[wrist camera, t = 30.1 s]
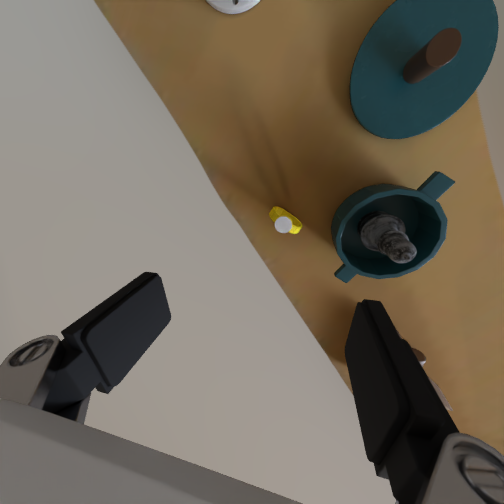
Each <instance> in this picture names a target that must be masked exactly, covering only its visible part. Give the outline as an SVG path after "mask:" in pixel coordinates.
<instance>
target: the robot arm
mask: <svg viewBox="0 0 504 504" xmlns="http://www.w3.org/2000/svg"><path fill="white" fill-rule="evenodd" d="M206 1H207V3H209V4H210V5H211V6H212V7H213V8H215V9H216V10H218V11H220V12H222V13H227V14H238V13H242V12H244V11H247V10H249V9H251V8H252V7H253V6H255V5H256V4H257V3H258V2H259V1H260V0H206ZM237 2H238V4H237ZM236 4H237V5H236ZM170 320H171V313H170V310H169V306H168V302H167V299H166V294H165V291H164V287H163V283H162V279H161V277H160V276H159V275H158V274H157V273H151V272H144V273H143V274H141V275H140V276H139V277H137V278H135V279H134V280H133V281H131V282H130V283H128V284H127V285H126V286H125V287H123V288H122V289H120V290H119V291H118V292H116V293H115V294H113V295H112V296H110V297H109V298H108V299H106V300H105V301H103V302H102V303H101V304H99V305H98V306H96V307H95V308H94V309H92V310H91V311H89V312H88V313H87V314H85V315H84V316H82V317H81V318H80V319H78V320H77V321H76V322H74V323H73V324H71V325H70V326H68V327H67V328H66V329H64V330H63V331H61V333H62V335H63V336H64V338H65V339H63V340H62V341H60V339H59V338H58V337H57V336H55V335H47V336H42V337H39V338H36V339H33V340H31V341H29V342H27V343H25V344H23V345H22V346H21V347H18V348H17V349H16V350H14V351H13V352H12V353H10V354H9V355H8V357H7V358H6V359H5V360H4V361H3V363H2V364H1V365H0V504H302V503H299V502H297V501H294V500H291V499H289V498H286V497H283V496H280V495H278V494H275V493H272V492H270V491H267V490H264V489H261V488H259V487H256V486H253V485H250V484H247V483H245V482H242V481H239V480H237V479H234V478H231V477H228V476H226V475H223V474H220V473H218V472H215V471H212V470H209V469H207V468H204V467H201V466H198V465H196V464H193V463H190V462H187V461H184V460H182V459H179V458H176V457H173V456H171V455H168V454H165V453H162V452H159V451H157V450H154V449H151V448H148V447H145V446H143V445H140V444H137V443H134V442H132V441H129V440H126V439H123V438H120V437H117V436H115V435H112V434H109V433H106V432H104V431H101V430H98V429H95V428H92V427H89V426H86V425H84V421H85V417H86V412H87V409H88V404H89V400H90V396H91V391H92V390H93V389H94V388H96V389H97V391H100V392H103V393H106V394H108V393H109V392H110V391H111V390H112V389H113V387H114V386H116V385H118V384H119V383H120V382H121V381H122V380H123V378H124V377H125V376H126V375H127V373H128V372H129V371H130V370H131V368H132V367H133V366H134V365H135V364H136V362H137V361H138V360H139V359H140V357H141V356H142V355H143V354H144V353H145V351H146V350H147V349H148V348H149V347H150V345H151V344H152V343H153V342H154V340H155V339H156V338H157V337H158V336H159V334H160V333H161V332H162V330H163V329H164V328H165V327H166V326H167V324H168V323H169V322H170ZM345 357H346V362H347V367H348V371H349V376H350V381H351V385H352V390H353V395H354V399H355V404H356V409H357V413H358V418H359V423H360V427H361V432H362V436H363V441H364V446H365V451H366V455H367V458H368V460H369V461H370V462H373V463H374V466H375V470H376V475H377V476H379V477H382V478H386V479H389V481H390V485H391V488H392V492H393V496H394V497H395V499H396V503H395V504H504V456H503V455H502V454H501V453H499V452H498V451H497V450H496V449H494V448H493V447H491V446H490V445H488V444H486V443H485V442H483V441H482V440H480V439H478V438H475V437H473V436H470V435H468V434H463V433H460V432H459V431H458V429H457V427H456V425H455V424H454V422H453V420H452V418H451V417H450V415H449V413H448V411H447V410H446V408H445V406H444V404H443V403H442V401H441V399H440V397H439V396H438V394H437V392H436V390H435V389H434V387H433V385H432V383H431V382H430V380H429V378H428V376H427V375H426V373H425V371H424V369H423V368H422V366H421V364H420V362H419V361H418V359H417V357H416V355H415V354H414V352H413V350H412V348H411V347H410V345H409V344H408V342H407V341H405V340H404V339H401V338H400V336H399V334H398V332H397V330H396V328H395V327H394V325H393V323H392V321H391V319H390V317H389V316H388V314H387V312H386V310H385V308H384V306H383V305H382V303H381V302H380V301H374V300H366V299H364V300H363V301H362V302H358V303H357V306H356V309H355V313H354V317H353V320H352V324H351V327H350V331H349V334H348V338H347V342H346V345H345Z"/></svg>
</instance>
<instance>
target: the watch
mask: <svg viewBox="0 0 504 504" xmlns="http://www.w3.org/2000/svg"><path fill="white" fill-rule="evenodd" d="M269 216H270V218H271V220H272V221H273V222H274V223H275V228H276V230H277V231H278V232H280V233H287V232H290V233H292V234H297V233H298V232H299V231H300V229H301V228H302V227H303V226H302V224H301V222H300V221H299V220H298V219H297V218H296V217H295V216H293V215H292V214H290V213H289V212H287V211H286V210H284V209H283V208H280V207H277V206H274V207H273V208H272V210H271V211H270V213H269Z"/></svg>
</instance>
